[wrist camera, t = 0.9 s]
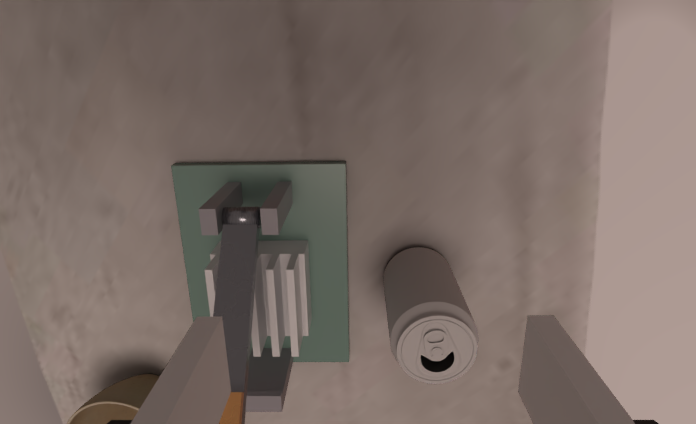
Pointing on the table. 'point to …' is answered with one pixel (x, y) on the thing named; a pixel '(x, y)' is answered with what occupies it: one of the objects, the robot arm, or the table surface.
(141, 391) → the flower pot
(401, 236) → the table surface
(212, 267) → the board
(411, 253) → the beverage can
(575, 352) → the robot arm
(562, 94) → the table surface
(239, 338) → the grey long bar
